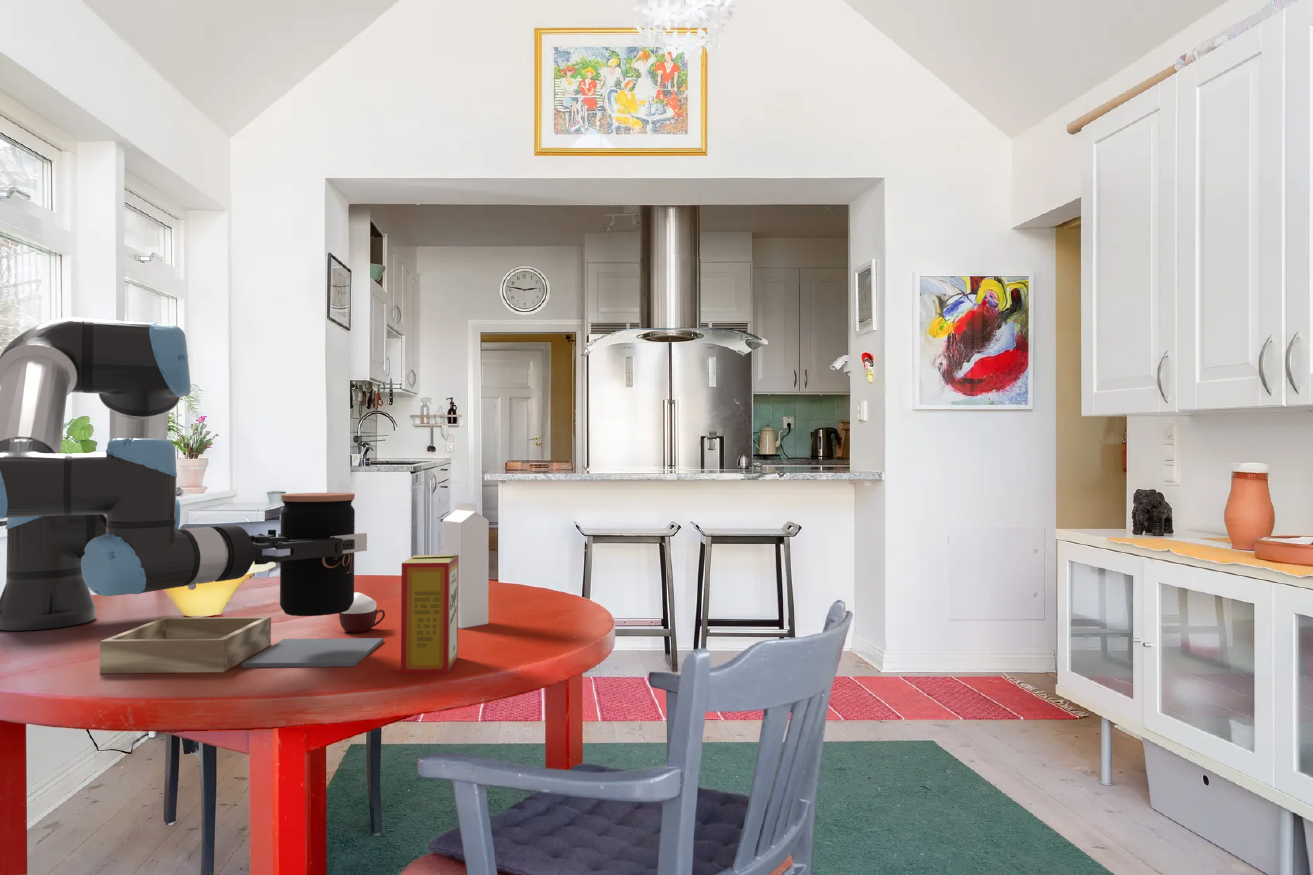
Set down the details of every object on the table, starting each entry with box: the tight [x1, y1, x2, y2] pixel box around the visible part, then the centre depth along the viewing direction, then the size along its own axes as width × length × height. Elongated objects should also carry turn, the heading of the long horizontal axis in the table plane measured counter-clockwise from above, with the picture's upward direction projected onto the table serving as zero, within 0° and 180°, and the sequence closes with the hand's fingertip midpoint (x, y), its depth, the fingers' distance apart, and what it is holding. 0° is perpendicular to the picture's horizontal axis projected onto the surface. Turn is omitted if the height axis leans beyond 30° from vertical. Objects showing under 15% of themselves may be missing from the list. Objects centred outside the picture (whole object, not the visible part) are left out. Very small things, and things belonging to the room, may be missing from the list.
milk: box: [441, 501, 490, 629], centre depth 156 cm, size 6×6×22 cm
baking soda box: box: [400, 554, 459, 676], centre depth 126 cm, size 10×6×16 cm
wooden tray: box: [99, 616, 272, 674], centre depth 130 cm, size 17×17×4 cm
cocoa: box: [338, 591, 386, 634], centre depth 150 cm, size 10×6×12 cm, turn 94°
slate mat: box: [241, 637, 384, 668], centre depth 133 cm, size 16×16×1 cm
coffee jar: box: [279, 492, 356, 617], centre depth 133 cm, size 11×11×18 cm
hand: (338, 540), depth 137 cm, fingers closed on coffee jar, 11 cm apart
